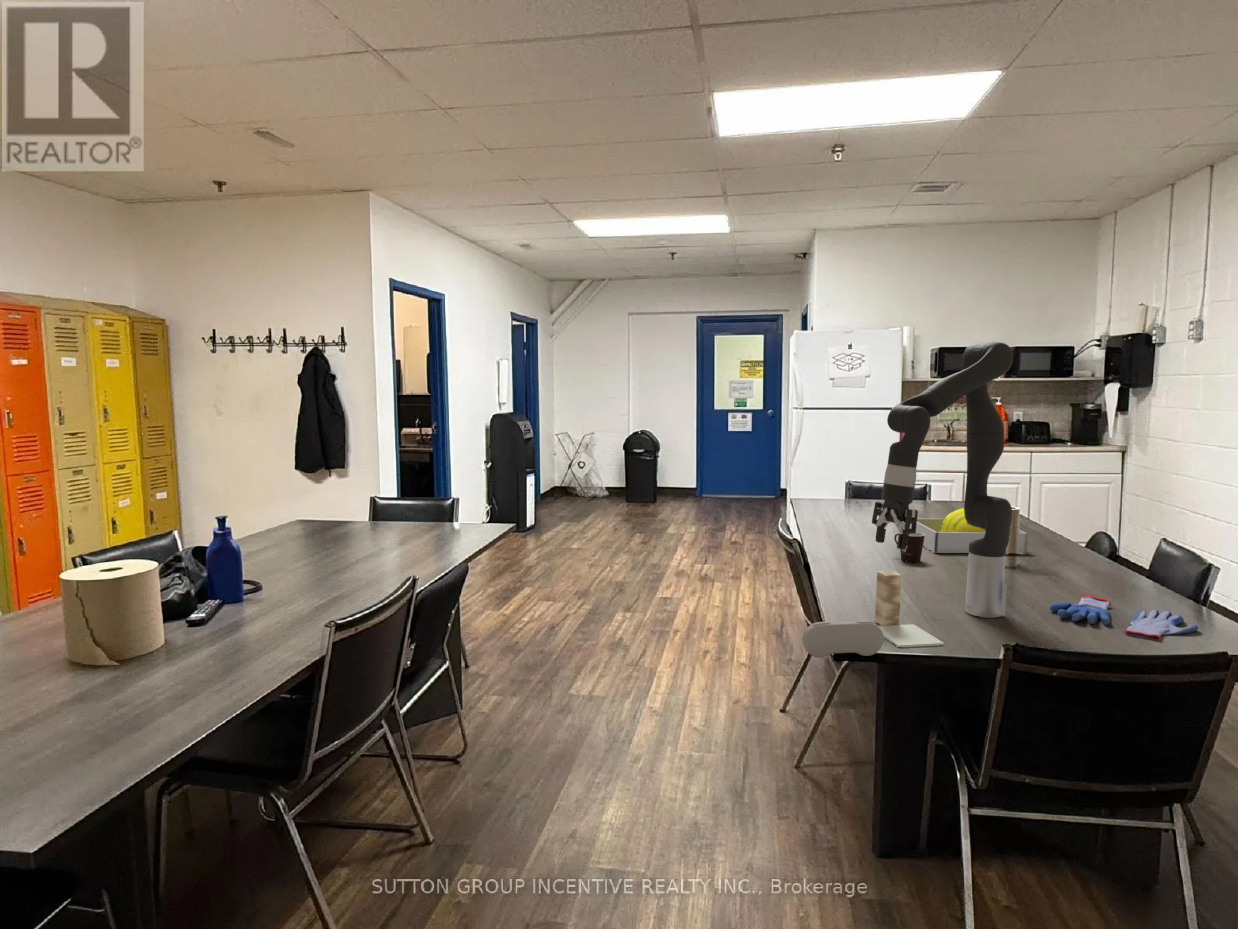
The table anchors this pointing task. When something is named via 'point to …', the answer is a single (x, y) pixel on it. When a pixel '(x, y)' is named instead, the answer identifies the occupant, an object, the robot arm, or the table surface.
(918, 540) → the coffee mug
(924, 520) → the grey crate
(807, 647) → the game controller
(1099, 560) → the table surface
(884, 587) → the beech block
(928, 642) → the felt mat
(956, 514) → the hard hat
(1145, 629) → the pair of gloves
